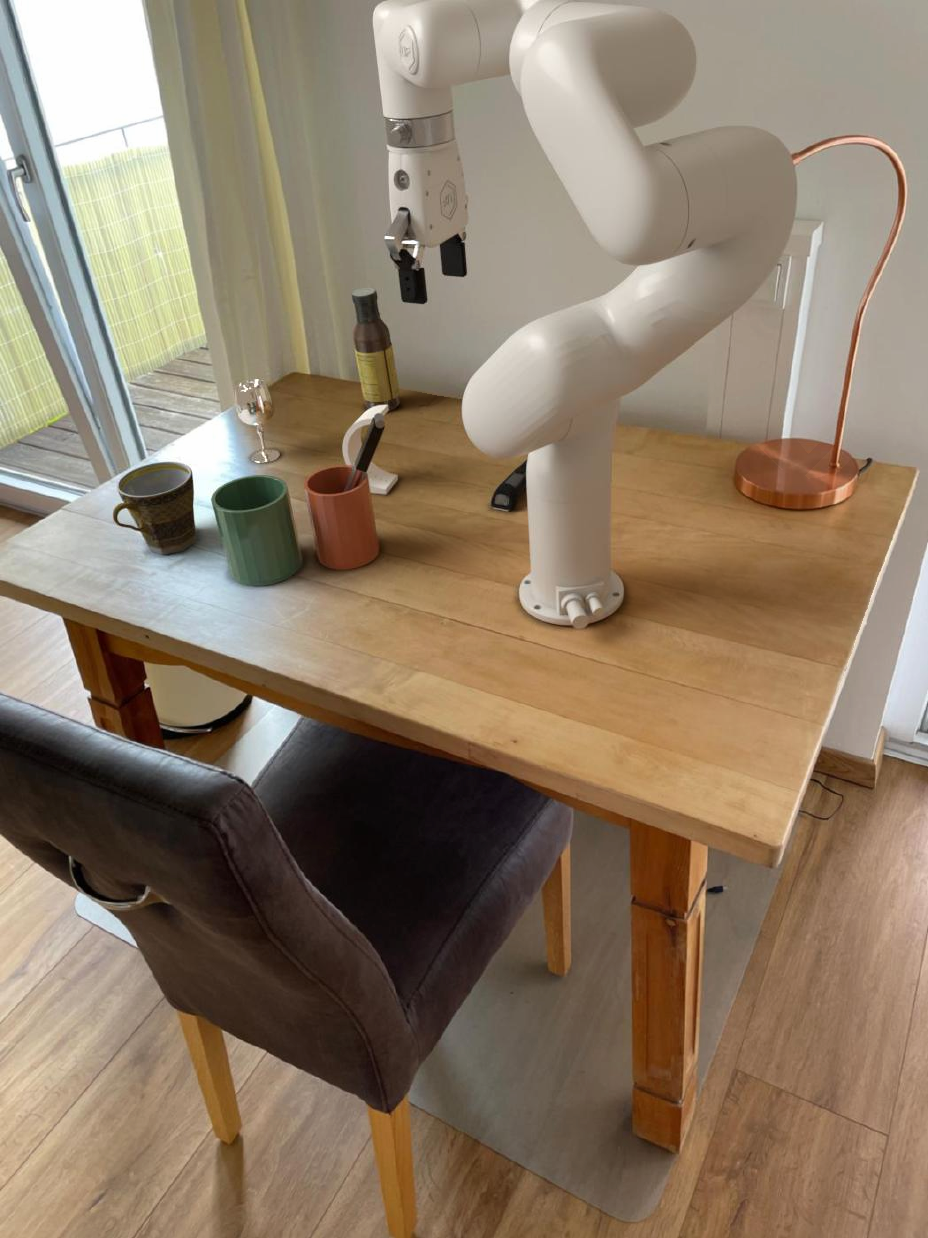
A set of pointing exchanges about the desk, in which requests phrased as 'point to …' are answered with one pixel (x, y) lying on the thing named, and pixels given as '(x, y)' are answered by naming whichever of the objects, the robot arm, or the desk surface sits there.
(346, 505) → the terracotta cup
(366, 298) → the sauce bottle
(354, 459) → the headphone stand
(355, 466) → the tongs
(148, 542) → the ceramic cup
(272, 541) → the green cup
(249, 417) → the wineglass
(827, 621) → the desk surface
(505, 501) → the electric trimmer
